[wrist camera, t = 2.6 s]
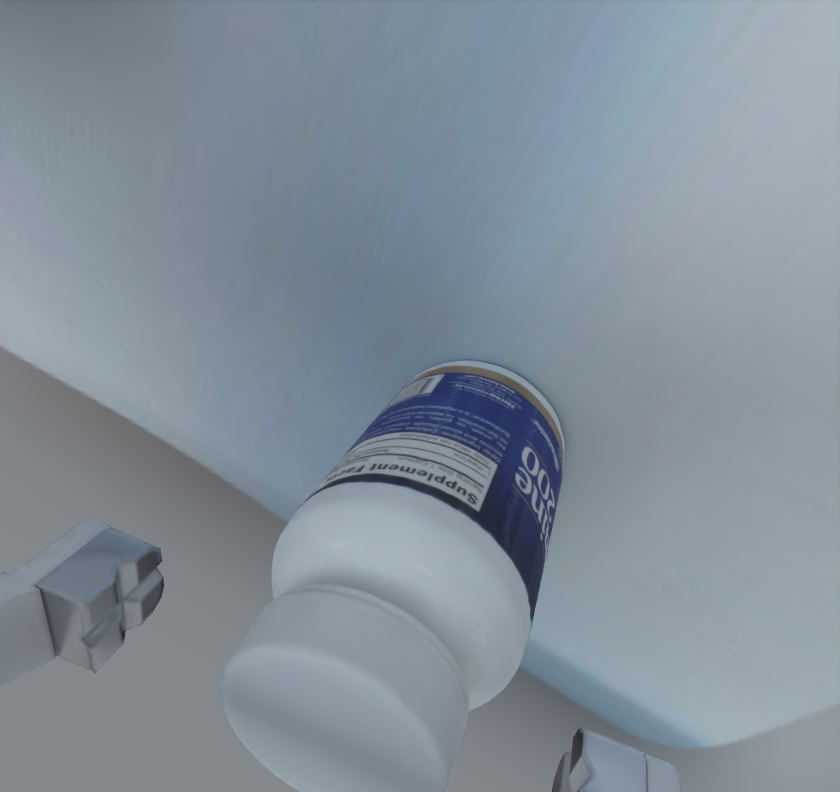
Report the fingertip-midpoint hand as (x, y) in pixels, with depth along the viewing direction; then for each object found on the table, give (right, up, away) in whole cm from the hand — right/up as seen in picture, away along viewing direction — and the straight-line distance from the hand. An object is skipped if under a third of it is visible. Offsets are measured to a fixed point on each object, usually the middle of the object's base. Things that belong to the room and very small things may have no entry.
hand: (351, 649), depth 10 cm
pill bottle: (+3, +3, +7) cm, 8 cm away
